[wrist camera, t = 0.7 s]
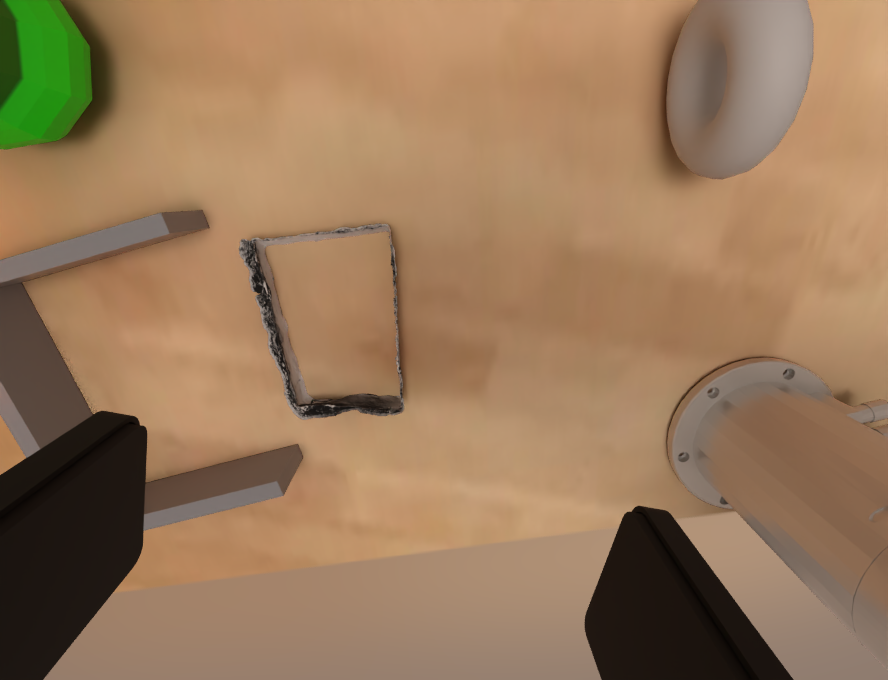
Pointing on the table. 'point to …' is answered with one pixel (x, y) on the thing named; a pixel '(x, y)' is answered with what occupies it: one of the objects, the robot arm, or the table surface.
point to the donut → (737, 82)
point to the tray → (61, 403)
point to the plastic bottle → (40, 72)
